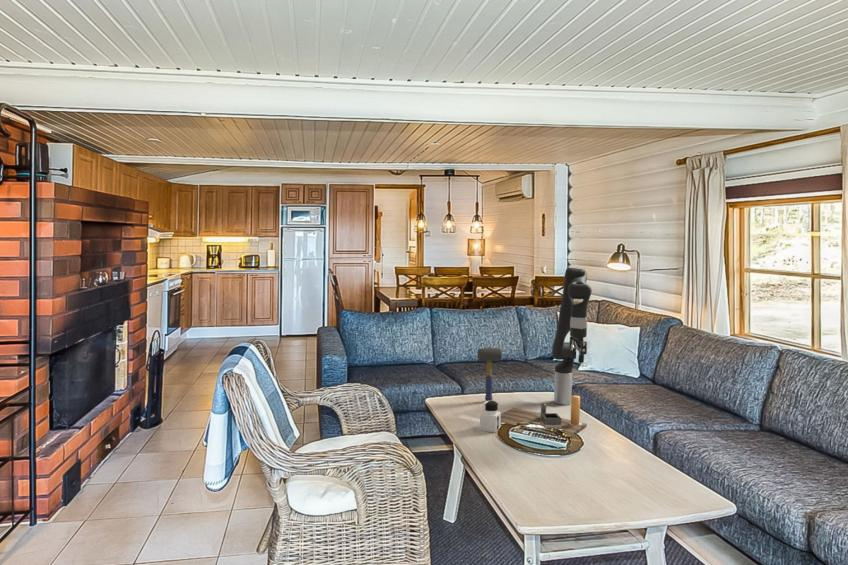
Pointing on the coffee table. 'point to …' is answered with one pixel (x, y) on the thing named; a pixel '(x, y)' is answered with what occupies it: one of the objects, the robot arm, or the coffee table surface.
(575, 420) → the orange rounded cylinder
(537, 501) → the coffee table surface
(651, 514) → the coffee table surface
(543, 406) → the lever
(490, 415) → the container
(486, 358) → the rubber mallet
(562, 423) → the base
